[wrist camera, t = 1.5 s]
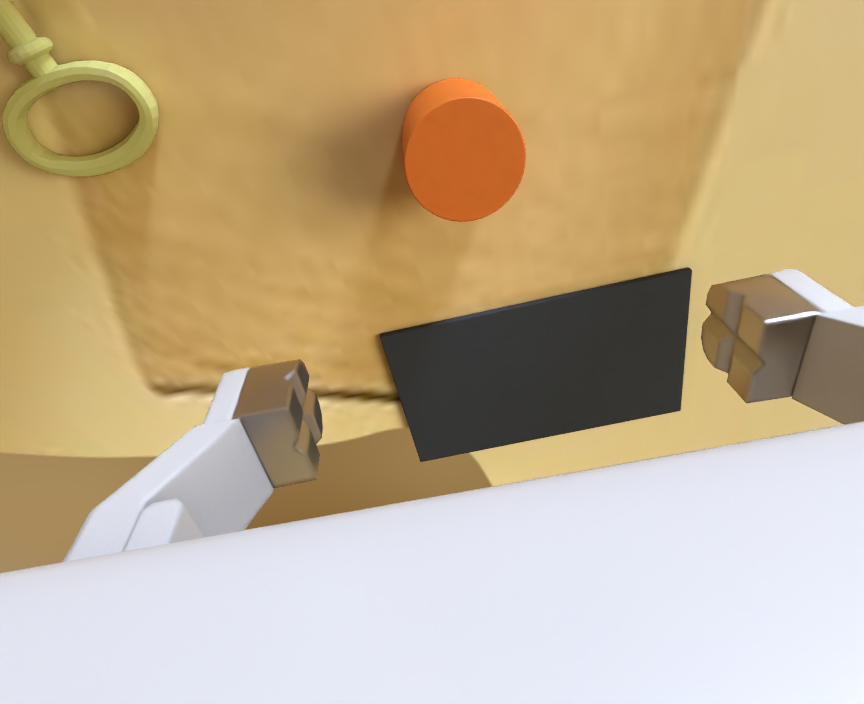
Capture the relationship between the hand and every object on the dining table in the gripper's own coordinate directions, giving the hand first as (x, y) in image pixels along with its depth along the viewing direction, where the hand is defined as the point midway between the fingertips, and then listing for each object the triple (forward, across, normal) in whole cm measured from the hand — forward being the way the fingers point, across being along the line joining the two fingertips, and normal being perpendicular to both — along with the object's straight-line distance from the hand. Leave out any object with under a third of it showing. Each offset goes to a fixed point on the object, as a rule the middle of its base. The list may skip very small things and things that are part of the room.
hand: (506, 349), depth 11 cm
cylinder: (+21, -1, +1) cm, 21 cm away
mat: (+21, -5, +18) cm, 28 cm away
